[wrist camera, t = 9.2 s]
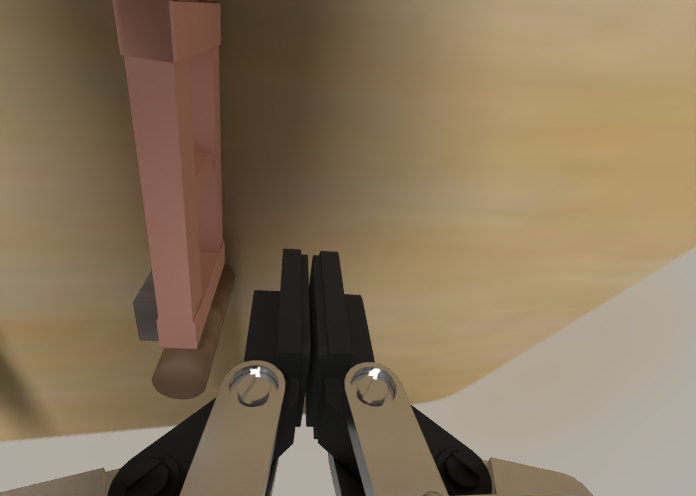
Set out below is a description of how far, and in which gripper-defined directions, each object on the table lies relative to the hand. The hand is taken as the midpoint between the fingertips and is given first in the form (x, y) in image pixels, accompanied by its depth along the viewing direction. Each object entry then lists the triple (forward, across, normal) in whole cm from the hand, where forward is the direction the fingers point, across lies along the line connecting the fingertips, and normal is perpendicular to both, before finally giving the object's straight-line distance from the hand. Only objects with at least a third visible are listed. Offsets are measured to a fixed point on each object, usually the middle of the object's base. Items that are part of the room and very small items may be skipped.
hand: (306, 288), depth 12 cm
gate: (+11, +5, 0) cm, 12 cm away
